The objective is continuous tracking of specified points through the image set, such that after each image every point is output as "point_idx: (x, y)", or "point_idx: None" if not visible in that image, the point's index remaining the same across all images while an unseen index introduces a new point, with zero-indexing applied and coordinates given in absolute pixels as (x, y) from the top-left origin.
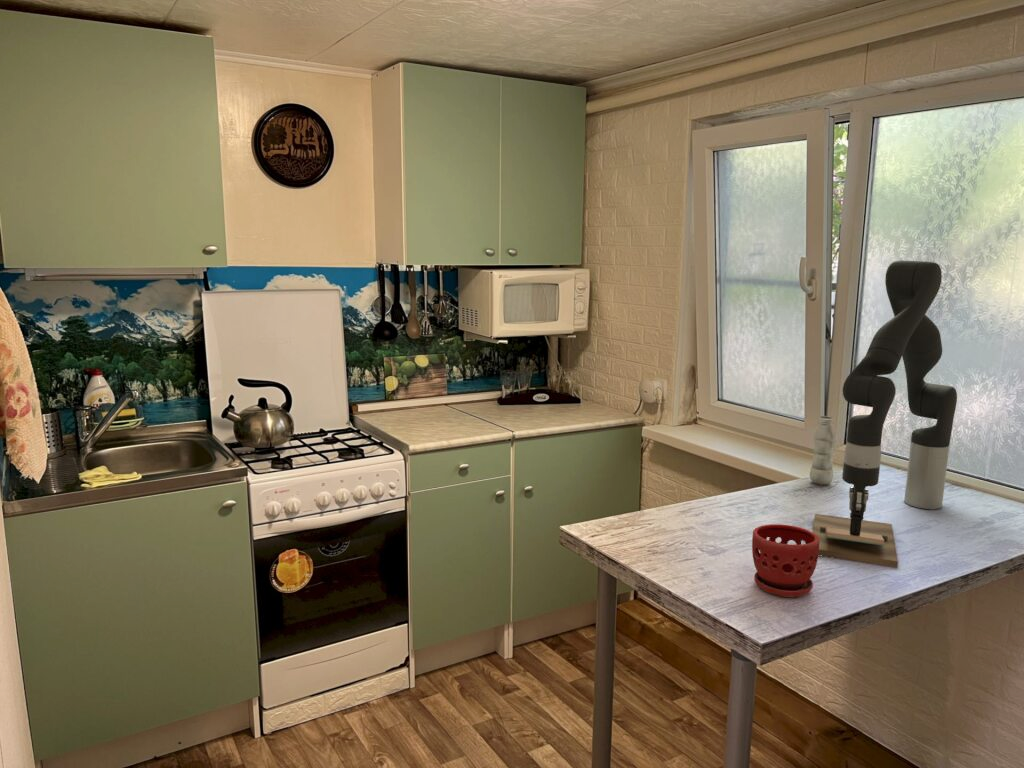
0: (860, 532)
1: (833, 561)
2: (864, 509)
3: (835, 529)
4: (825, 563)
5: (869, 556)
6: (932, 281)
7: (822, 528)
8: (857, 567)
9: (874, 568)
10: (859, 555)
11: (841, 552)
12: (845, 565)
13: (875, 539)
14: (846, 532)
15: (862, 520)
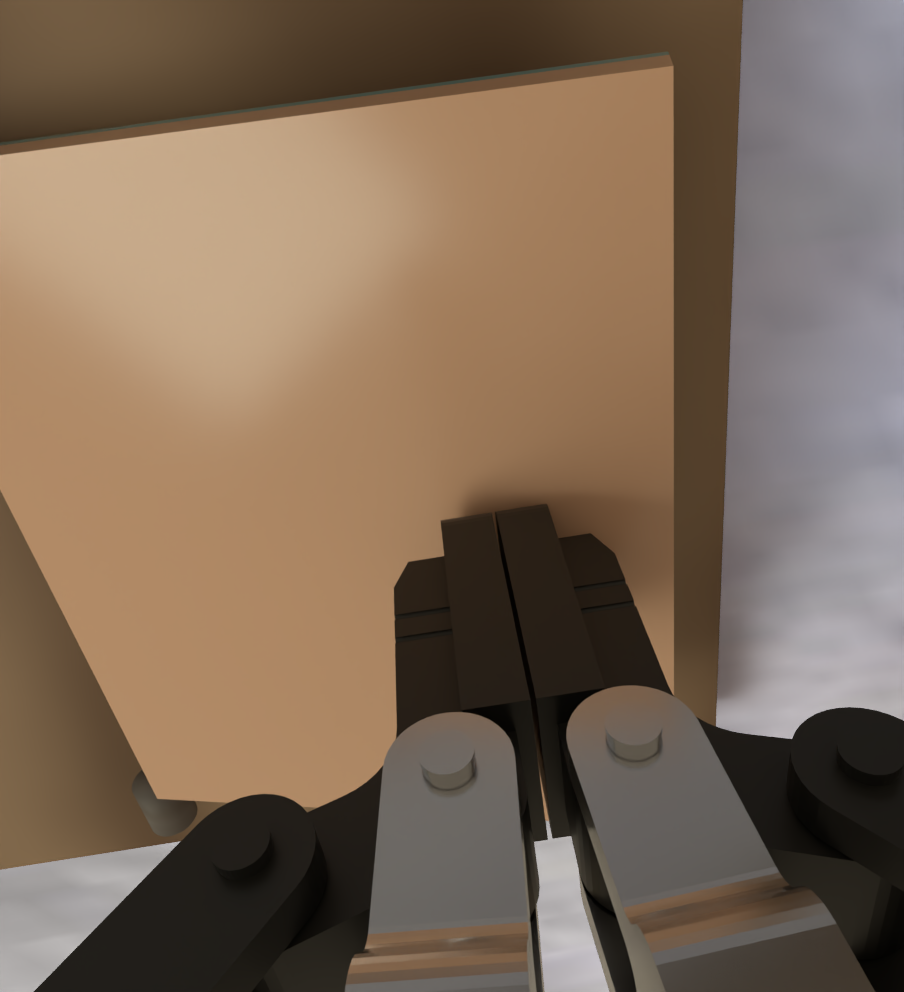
0: (52, 483)
1: (784, 533)
2: (844, 975)
3: (226, 736)
4: (861, 579)
5: (707, 224)
6: None
7: (182, 810)
8: (873, 301)
9: (842, 105)
10: (723, 346)
11: (706, 531)
12: (854, 421)
13: (671, 243)
14: (360, 642)
15: (892, 716)
